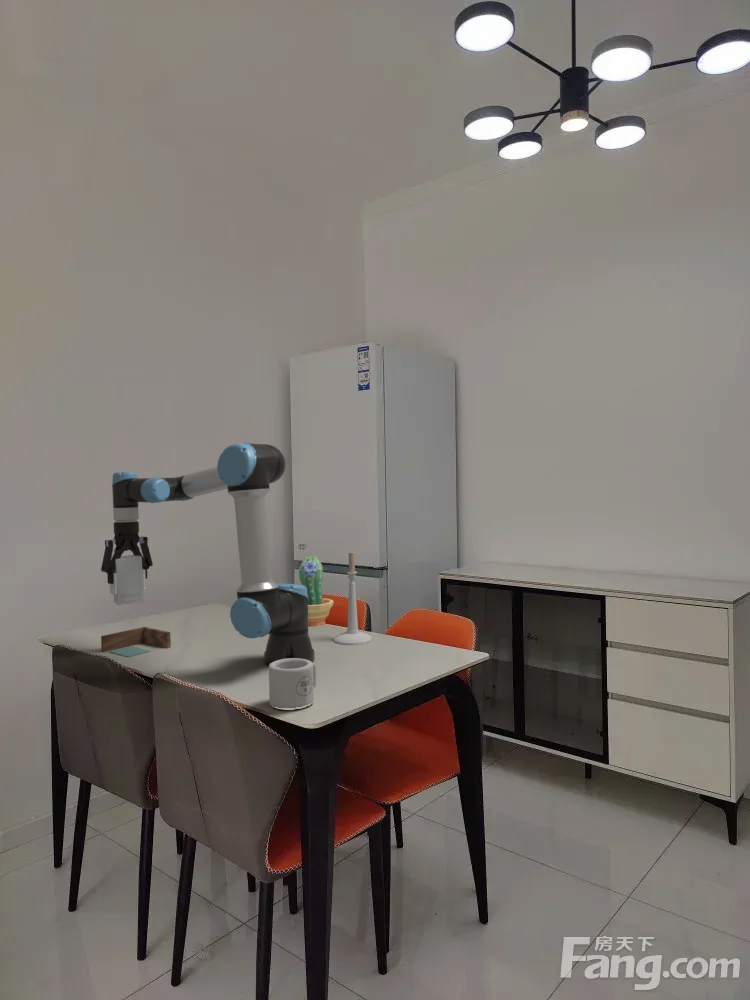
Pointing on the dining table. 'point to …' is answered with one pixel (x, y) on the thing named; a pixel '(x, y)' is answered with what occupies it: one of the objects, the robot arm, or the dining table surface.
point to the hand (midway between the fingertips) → (128, 591)
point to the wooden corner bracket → (135, 638)
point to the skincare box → (129, 580)
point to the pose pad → (129, 651)
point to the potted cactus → (314, 590)
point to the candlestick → (352, 613)
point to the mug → (291, 682)
